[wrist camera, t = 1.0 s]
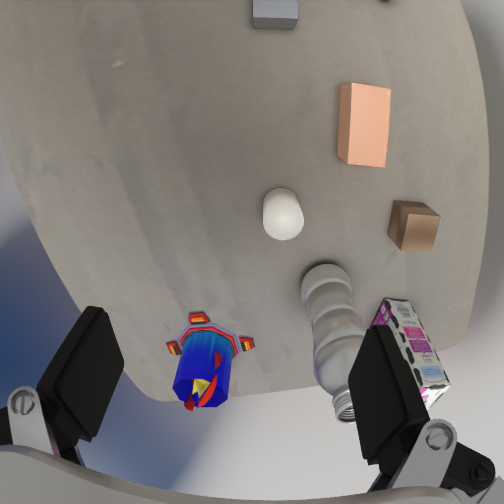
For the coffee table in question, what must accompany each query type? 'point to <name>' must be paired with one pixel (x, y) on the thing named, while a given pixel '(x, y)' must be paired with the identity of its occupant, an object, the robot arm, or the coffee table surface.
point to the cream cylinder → (282, 214)
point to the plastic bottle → (333, 333)
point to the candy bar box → (414, 348)
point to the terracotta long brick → (363, 124)
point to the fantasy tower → (205, 361)
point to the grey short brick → (275, 14)
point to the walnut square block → (413, 226)
